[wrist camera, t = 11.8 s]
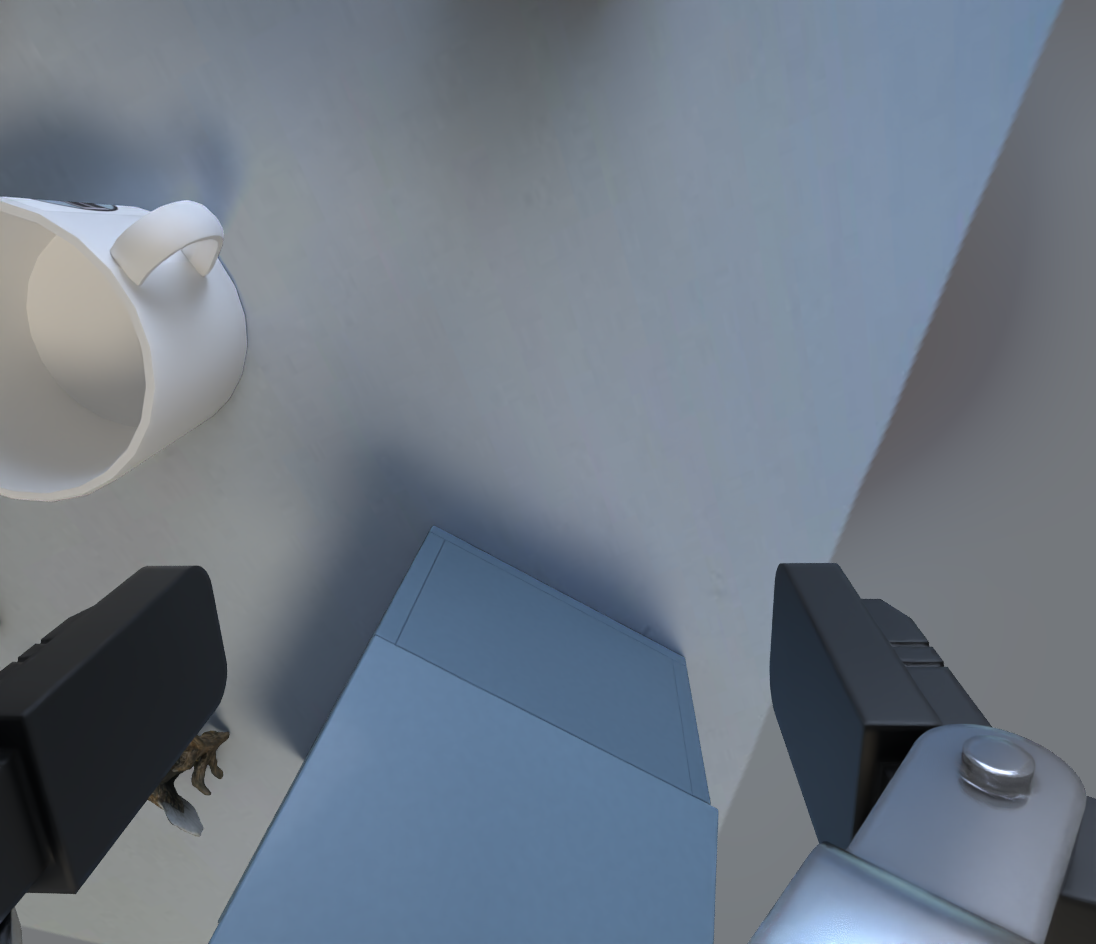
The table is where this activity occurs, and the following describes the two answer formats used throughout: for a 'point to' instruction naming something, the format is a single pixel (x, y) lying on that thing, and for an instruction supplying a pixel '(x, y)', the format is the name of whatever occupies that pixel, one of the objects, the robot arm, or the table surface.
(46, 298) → the mug
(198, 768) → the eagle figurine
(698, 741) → the blue-grey box
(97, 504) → the table surface
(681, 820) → the box lid
